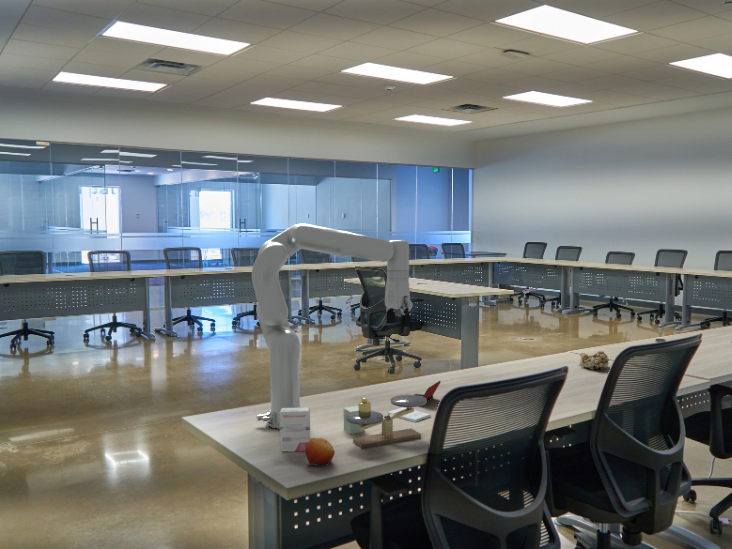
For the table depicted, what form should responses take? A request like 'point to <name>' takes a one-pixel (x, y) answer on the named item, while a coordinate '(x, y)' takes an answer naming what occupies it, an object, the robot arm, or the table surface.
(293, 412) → the ink box
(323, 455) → the fruit
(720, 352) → the table surface
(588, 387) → the table surface
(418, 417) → the external hard drive
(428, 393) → the handheld game console
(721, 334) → the table surface
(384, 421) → the balance
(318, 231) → the robot arm
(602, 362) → the mineral formation
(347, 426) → the sage block
